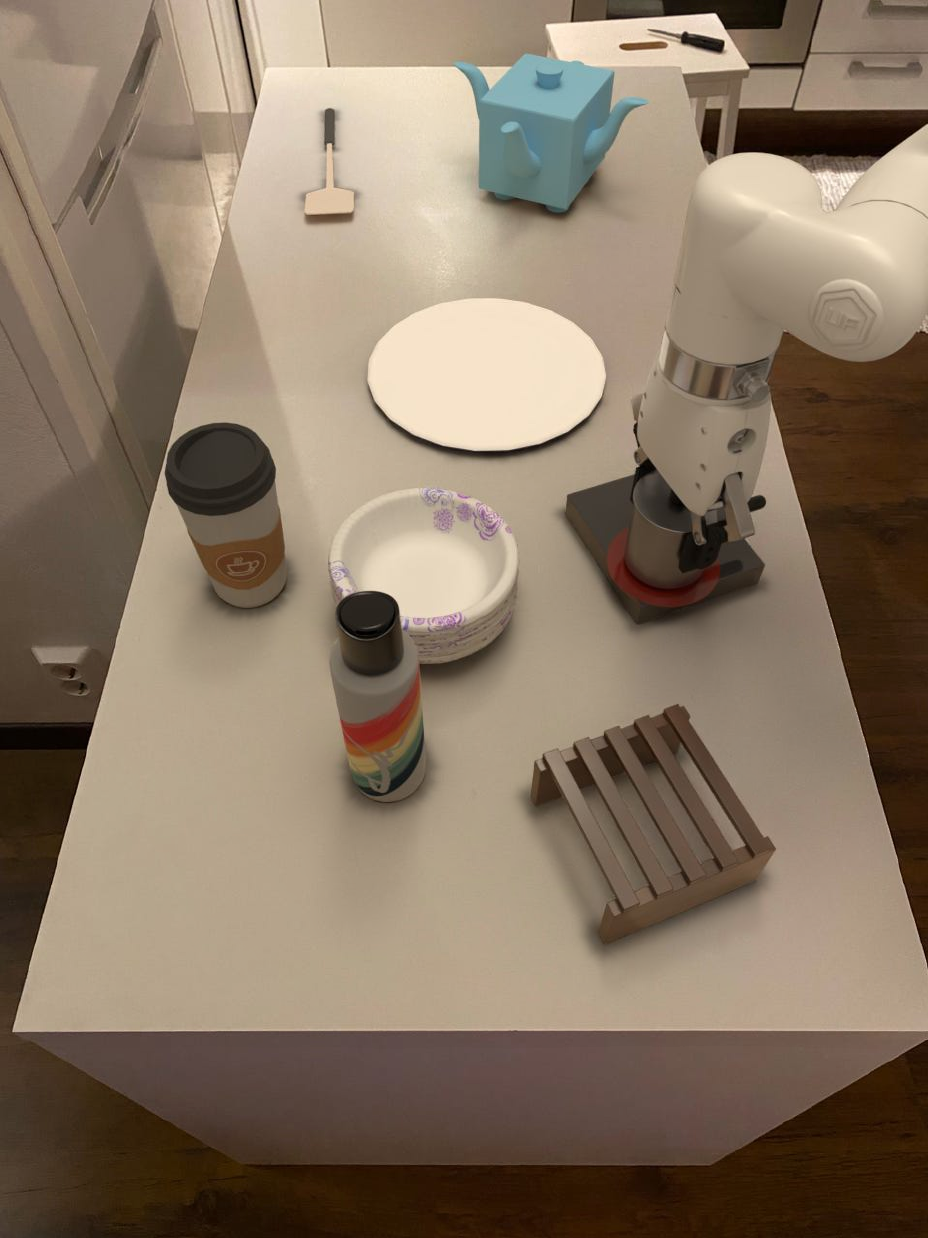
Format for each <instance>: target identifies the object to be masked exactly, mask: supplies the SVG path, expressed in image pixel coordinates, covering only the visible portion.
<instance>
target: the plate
mask: <svg viewBox="0 0 928 1238" xmlns="http://www.w3.org/2000/svg"><path fill="white" fill-rule="evenodd" d="M367 362H368V363H367V380H366V381H367V384H368V388H369V390H370V392H371V393H370V394H371V395H372V398H373V401H374V403H375V404H376V405H377V407H378V408H379V409H380V410H381V412H382V413H383V414H384V415H385V416H386V418H387V419H388V420H389V421H390V422H392V423H393V424H395V425H396V426H398V427H400V428H401V429H402V430H404V431H405V432H406V433H408V434H410V435H411V436H413V437H415V438H417V439H421V440H423V441H426V442H428V443H431V444H434V445H436V446H439V447H442V448H446V449H447V448H448V449H453V450H459V451H466V452H472V453H493V452H494V453H495V452H496V453H497V452H498V453H499V452H500V453H501V452H512V451H518V450H522V449H527V448H531V447H532V448H533V447H537V446H541V445H544V444H545V443H547V442H550V441H552V440H554V439H557V438H559V437H561V436H564V435H566V434H568V433H570V432H571V431H572V430H573V429H574V428H576V427H577V426H578V425H580V424H581V423H583V422H584V421H585V420H586V419H588V418H589V417H590V415H591V414H592V412H593V411H594V409H595V408H596V407H597V405H598V404H599V402H600V401H601V399H602V397H603V392H604V388H605V384H606V380H607V373H606V367H605V361H604V356H603V355H602V354H601V352H600V350H599V349H598V347H597V345H596V344H595V342H594V340H593V339H592V338H591V337H590V336H589V335H588V334H587V333H586V332H585V331H583V329H582V328H580V327H579V326H578V325H577V324H576V323H574V322H573V321H572V320H570V319H568V318H567V317H564V316H562V315H560V314H558V313H557V312H555V311H553V310H551V309H548V308H545V307H542V306H539V305H535V304H533V303H529V302H526V301H519V300H513V299H512V300H511V299H505V298H498V297H479V298H475V297H473V298H472V297H471V298H464V299H463V298H462V299H457V300H452V301H447V302H440V303H437V304H435V305H432V306H429V307H426V308H424V309H421V310H417V311H415V312H413V313H412V314H410V315H408V316H407V317H406V318H404V319H402V320H401V321H399V322H398V323H396V324H394V325H393V326H392V327H391V328H389V330H387V332H386V333H384V334H383V336H382V337H381V338H380V339H379V340H378V341H377V342H376V344H375V347H374V349H373V350H372V352H371V354H370V358H369V359H368V361H367Z"/></svg>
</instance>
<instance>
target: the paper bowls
mask: <svg viewBox="0 0 928 1238" xmlns="http://www.w3.org/2000/svg"><path fill="white" fill-rule="evenodd" d="M329 547H330V548H329V552H328V557H327V558H328V559H327V560H328V562H327V566H328V576H329V578H330V579H329V580H330V581H329V582H330V588H331V594H332V599H333V605H334V607H335V609H336V608H337V606H338V604H339V603H340V601H341V600H342V599H344V598H345V597H346V596H348V595H350V594H353V593H356V592H361V591H379V592H383V593H386V594H388V595H390V596H392V597H393V598H394V599H395V600H396V601H397V603H398V606H399V610H400V618H401V627H402V630H404V631H405V632H406V633H407V634H408V635H409V636H410V637H411V638H412V639H413V641H414V643H415V645H416V648H417V651H418V657H419V665H420V664H423V665H425V664H427V665H428V664H430V665H431V664H433V665H434V664H443V663H444V664H445V663H449V662H454V661H456V660H459V659H463V658H466V657H469V656H470V655H473V654H474V653H476V652H478V651H480V650H482V649H484V648H485V647H487V646H488V645H489V644H491V643H492V642H493V641H494V640H495V639H496V638H497V637H498V636H499V635H500V634H501V633H502V632H503V631H504V629H505V628H506V626H507V624H508V623H510V622H509V621H510V620H511V618H512V616H513V613H514V611H515V606H516V604H517V598H518V584H519V583H518V581H519V572H520V571H519V570H520V550H519V544H518V541H517V539H516V537H515V535H514V532H513V531H512V529H511V528H510V526H509V525H508V523H507V522H506V521H505V520H504V518H502V516H500V515H499V513H498V512H497V511H496V510H494V509H493V508H491V507H490V506H489V505H487V504H485V503H484V502H482V501H480V500H479V499H476V498H474V497H472V496H470V495H468V494H465V493H462V492H458V491H456V490H455V491H454V490H450V489H445V488H438V487H413V488H404V489H399V490H394V491H391V492H388V493H385V494H382V495H379V496H377V497H375V498H371V500H368V501H366V502H365V503H363V504H362V505H361V506H358V507H357V508H356V509H355V510H354V511H352V513H350V514H349V515H348V516H347V517H346V518H345V519H344V521H342V523H341V525H340V526H339V527H338V528H337V530H336V532H335V534H334V536H333V538H332V540H331V544H330V546H329Z"/></svg>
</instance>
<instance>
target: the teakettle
mask: <svg viewBox="0 0 928 1238" xmlns="http://www.w3.org/2000/svg"><path fill="white" fill-rule="evenodd" d="M453 66H454V67H455V68H456V69H457V70H459V71H460V72H461V73H462V74H463V75H464V76H465V77H466V79H467V80H468V81H469V84H470V86H471V90H472V93H473V98H474V102H475V108H476V109H475V110H476V113H477V118H478V124H479V125H478V189H479V190H483V191H488V192H491V193H493V195H494V196H495V198H497V199H499V200H503V201H509V200H513V199H515V198H516V199H517V198H518V199H520V200H526V201H530V202H534V203H538V204H542V205H545V207H546V209H547V210H548V211H550V212H552V213H563V212H567V211H568V210H569V209H570V206H571V204H572V203H573V202H574V200H575V198H577V196H578V194H579V193H580V192H581V191H582V189H583V188H584V186H585V185H586V184H588V183H589V182H590V178H591V177H592V176H593V174H594V173H595V172H596V170H597V169H598V168H599V166H600V165H601V163H602V162H603V161H604V159H605V157H606V154H607V153H608V152H609V151H610V149H611V148H612V146H613V145H614V142H615V141H616V139H617V137H618V134H619V132H620V129H621V127H622V124H623V122H624V120H625V118H626V117H627V116H628V115H629V113H630V112H632V111H633V110H634V109H637V108H639V107H641V106H645V105H648V104H649V103H650V100H649V99H647V98H643V97H638V96H626V97H623V98H621V99H619V101H617V102H616V103H615V104H614V105H613V108H611V107H612V99H613V88H614V80H615V71H614V70H613V69H608V68H603V67H599V66H594V65H593V66H592V65H588V64H585V63H584V62H582V61H581V60H571V61H567V60H561V59H557V58H552V57H547V56H542V55H536V54H530V53H527V52H526V53H524V54H523V55H522V56H521V57H520V58H519V59H517V61H516V62H515V63H514V64H513V65H512V66H511V67H510V68H509V69H508V70H507V71H506V72H505V74H503V75H502V76H501V77H500V78H499V79H498V81H497V82H496V83H495V84H494V85H492V87H491V88H490V87H489V84H488V81H487V79H486V77H485V75H484V73H483V72H482V70H480V68H478V67H477V66H476V65H474V64H472V63H469V62H464V61H454V62H453Z"/></svg>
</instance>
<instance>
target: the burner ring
mask: <svg viewBox="0 0 928 1238" xmlns="http://www.w3.org/2000/svg"><path fill="white" fill-rule="evenodd" d="M628 530H629V527H628V528H626V529H624V530H623V531H622V532H620V533H619V534H618V535H617V536H616V537H615V538H614V539H613V541H612V542H611V544H610V546H609V549H608V552H607V566H608V570H609V572H610V575H611V576H612V578H613V580H614V581H615V583H616V584H617V585H618V586H619V587H620V588H621V589H622V590H623V591H624V592H626V593H627V594H628V595H630V596H632V597H633V598H635V599H637V600H639V601H641V602H644V603H647V604H650V605H654V606H660V607H680V606H686V605H689V604H693V603H695V602H697V601H699V600H701V599H703V598H704V597H706V596H707V595H708V594H709V593H710V592H711V591H712V590H713V589H714V587H715V586H716V584H717V582H718V579H719V575H720V563H719V559H718V557H717V560H716V561H715V562H714V563H713V564H712V565H711V566H709V567H707V568H704V570H703V572H702V574H701V575H700V577H699V578H698V579H697V580H695V581H694V582H693V583H691V584H689V585H687V586H685V587H681V588H676V589H663V588H657V587H653V586H650V585H648V584H646V583H644V582H642V581H640V580H639V579H638V578H636V577H635V576H634V575H633V574H632V573H631V572H630V570H629V569H628V567H627V565H626V563H625V559H624V550H625V545H626V540H627V535H628Z"/></svg>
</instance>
